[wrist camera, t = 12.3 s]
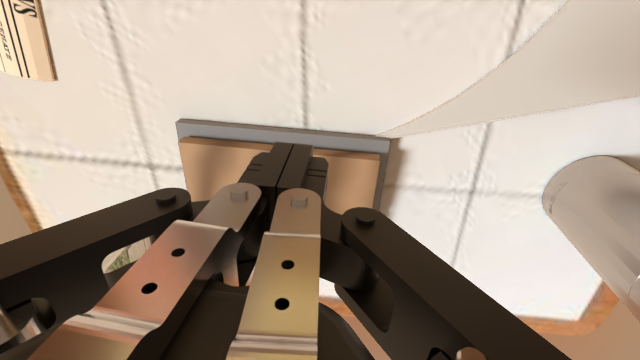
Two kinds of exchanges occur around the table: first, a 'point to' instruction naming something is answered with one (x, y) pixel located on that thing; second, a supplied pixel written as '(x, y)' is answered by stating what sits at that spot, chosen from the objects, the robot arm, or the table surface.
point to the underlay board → (291, 140)
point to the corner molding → (552, 70)
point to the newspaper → (24, 41)
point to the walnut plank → (233, 157)
